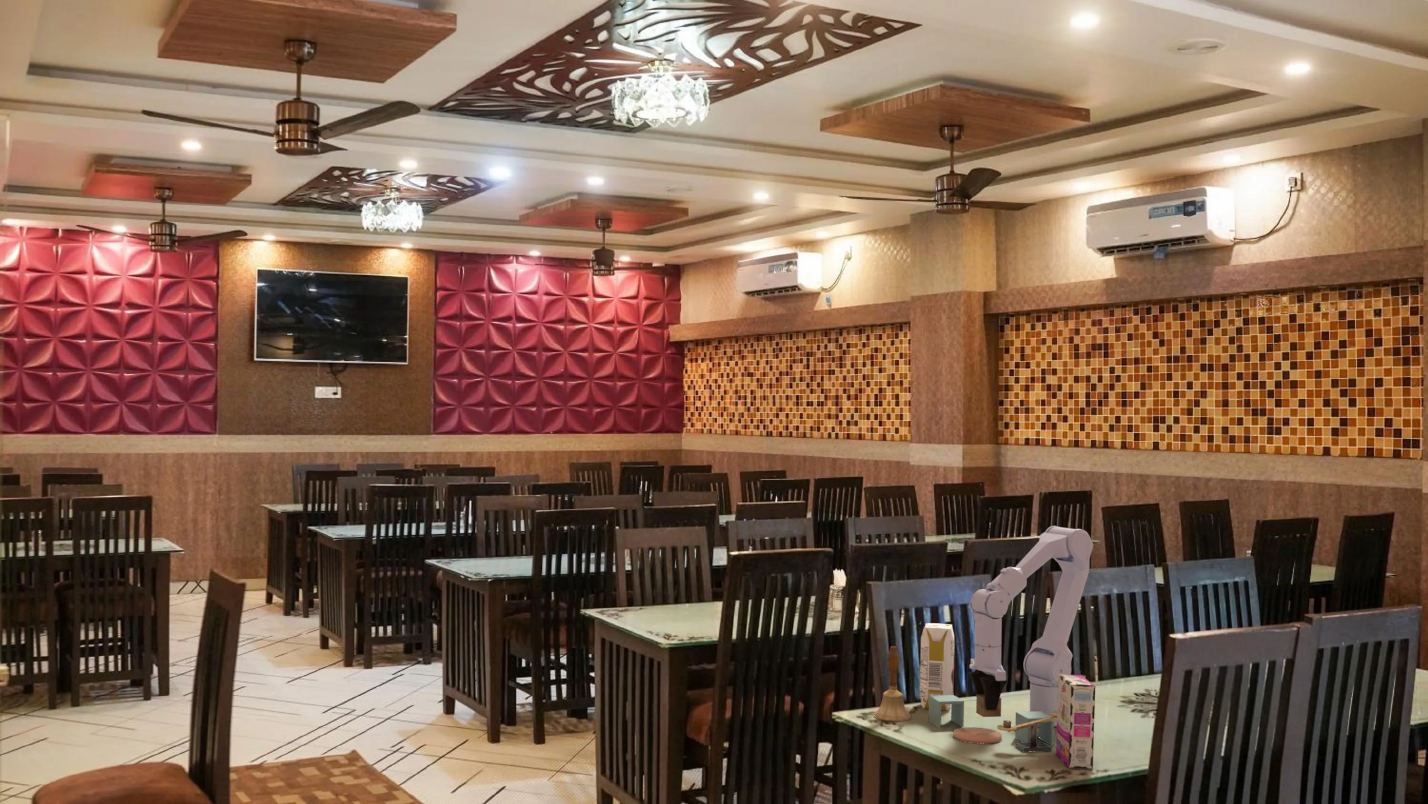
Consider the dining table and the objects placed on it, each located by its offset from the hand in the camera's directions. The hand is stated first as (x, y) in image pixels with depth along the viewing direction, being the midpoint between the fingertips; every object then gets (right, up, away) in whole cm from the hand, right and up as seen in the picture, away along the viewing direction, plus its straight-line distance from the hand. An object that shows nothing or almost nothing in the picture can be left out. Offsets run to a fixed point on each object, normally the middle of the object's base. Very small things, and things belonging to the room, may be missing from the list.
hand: (987, 706), depth 274 cm
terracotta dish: (-4, -5, -8) cm, 10 cm away
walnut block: (0, -2, 0) cm, 2 cm away
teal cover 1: (-8, -5, +4) cm, 10 cm away
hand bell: (-19, -5, +9) cm, 22 cm away
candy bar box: (+12, -5, -25) cm, 28 cm away
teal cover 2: (+8, -5, -10) cm, 13 cm away
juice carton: (-7, -5, +21) cm, 23 cm away
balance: (+6, -5, -16) cm, 18 cm away
